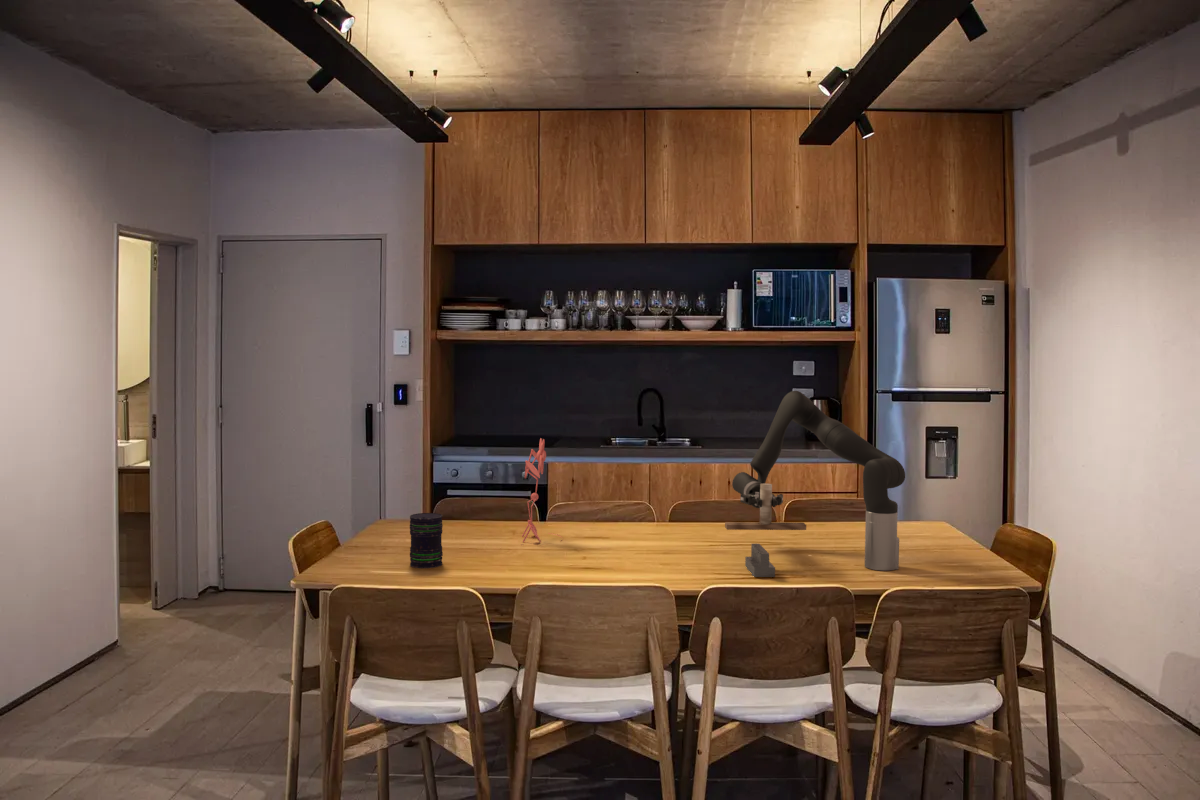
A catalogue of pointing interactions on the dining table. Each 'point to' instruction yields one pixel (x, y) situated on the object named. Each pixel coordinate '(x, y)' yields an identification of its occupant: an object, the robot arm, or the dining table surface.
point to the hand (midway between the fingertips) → (767, 503)
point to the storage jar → (426, 540)
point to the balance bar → (765, 516)
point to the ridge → (759, 562)
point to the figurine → (540, 458)
